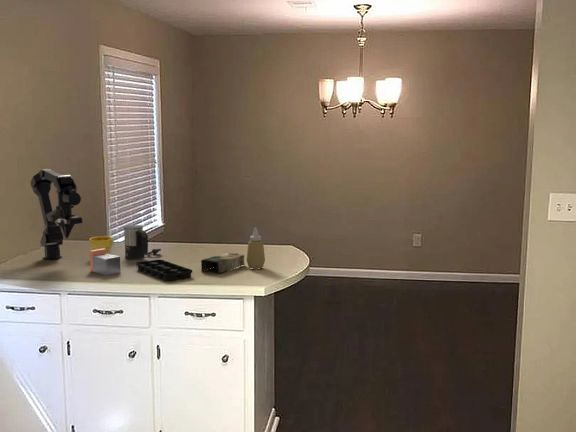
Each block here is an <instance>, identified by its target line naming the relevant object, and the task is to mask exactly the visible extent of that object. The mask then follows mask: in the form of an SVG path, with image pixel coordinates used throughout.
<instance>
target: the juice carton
mask: <svg viewBox="0 0 576 432" xmlns="http://www.w3.org/2000/svg"><path fill="white" fill-rule="evenodd" d="M200 263H201V264H200V265H201V266H200V268H201V269H200V270H201V272H202V271H203V272H205V271H204V270H207V269H210V268H213V267H216V268H215V269H214V268H213V269H214V273H215V274H217V273H218V274H222V273H226V272H225V271H228V270H231V269H234V268H236V267H239V266H241V265H244V266H245V255H244V254H242V253H240V254H239V253H237V252H235V253H230V252H227V253H222V254H218V255H214V256H210V257H207V258H204V259H201V261H200ZM210 270H211V269H210ZM234 270H235V269H234ZM207 271H208V270H207ZM231 271H232V270H231ZM228 272H229V271H228Z"/></svg>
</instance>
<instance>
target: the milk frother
mask: <svg viewBox="0 0 576 432" xmlns="http://www.w3.org/2000/svg"><path fill="white" fill-rule="evenodd" d="M143 228H144V226H143V225H140V224H132V225H126V226H125V225H124V226H123V235H124V251H125V252H124V259H128V260H129V259H130V260H135V259H136V260H137V259H143V258H145V256H148V255H151V254H153V255H157V253H159V252H161V250H162V249H161V248H152V250H151V251H149V236H148V233H147V231H146V230H144V229H143Z"/></svg>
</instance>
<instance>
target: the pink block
mask: <svg viewBox="0 0 576 432" xmlns="http://www.w3.org/2000/svg"><path fill="white" fill-rule="evenodd" d="M101 254H106V249H104V248H103V249H97V250H92V249H91V250H89V267H90V268H89V269H90V272H93V259H92V256H95V255H101Z"/></svg>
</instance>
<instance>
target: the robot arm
mask: <svg viewBox="0 0 576 432" xmlns="http://www.w3.org/2000/svg"><path fill="white" fill-rule="evenodd" d="M52 183H53V186H54V187H55V188H56V191H55V193H57V205H56V206H55V209H53V207H52V206H53V205H52V203H51V202H52V201H51V199H50V193H51V192H50V191H51V189H52ZM30 187H31V189H32V191H33V193H34V194H35V195H36V196H37V198H38V201H39V206H40V209H41V215H42V219H43V224H44V227H43V230H42V237H41V239H40V240H39V242H40V246H41V247H44V256H43V257H42V259H45V260H58V259H62V258H63V256H62V255H61V249H60V246H62V245H63V242H64V238H65V239H68V238H69V237H70V235H71V232H72V230H73V228H74V226H75V225H78V224H83V223H84V222H83V220H84V219H83V217H81V216H78V215H75V214H74V213H73V208H75V207H74V206H77V205H79V204H80V202H81V201H82V200H81V199H82V197H81V195H80V193H78V192H77V191H78V188H77V185H76V182H75V181H74V178H73V177H72V176H71V174H60V173H58V172H56V171H54V170H53V169H51V168H43V169H40V170H39V171H38V173H36V174H35V175H33V176H32V177H31V180H30ZM56 221H57V222H56Z"/></svg>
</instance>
